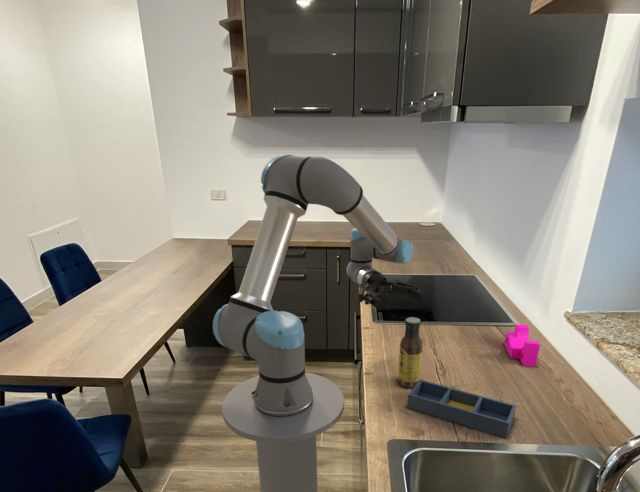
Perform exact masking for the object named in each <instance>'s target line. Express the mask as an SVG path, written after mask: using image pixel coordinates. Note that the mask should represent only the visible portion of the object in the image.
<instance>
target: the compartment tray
mask: <svg viewBox="0 0 640 492" xmlns="http://www.w3.org/2000/svg"><path fill="white" fill-rule="evenodd" d="M406 408H407V409H409V410H412V411H413V410H414V411H417V412H419V413H423V414H426V415H430V416H432V417H437V418H439V419H442V420H446V421H450V422H452V423H456V424H459V425H463V426H466V427H468V428H473V429H475V430H478V431H482V432H486V433H488V434H493V435H496V436H499V437H501V438H505V439H507V438H508V435H509V432H510V430H511V427H512V425H513V422H514V418H515V414H516V410H517V404H513V403H509V402H505V401H501V400H498V399H494V398H491V397H486V396H483V395H480V394H476V393H472V392H468V391H464V390H461V389H457V388H453V387H450V386H446V385H442V384H439V383H435V382H431V381H428V380H423V379H420V381H419V382H418V383H417V385H416V386H415V387H413V388H411V390H410V391H409V393H408V394H407V407H406Z"/></svg>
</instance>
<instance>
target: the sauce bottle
mask: <svg viewBox="0 0 640 492" xmlns="http://www.w3.org/2000/svg"><path fill="white" fill-rule="evenodd" d="M404 324H405V329H404V330H405V331H404V336H402V338H401V340H400V342H399V355H398V372H397V376H398V379H397V380H398V383H399V385H401V386H402V387H404V388H408V389H413V388H414V387H415V386H416V385H417V383H418V382H419V381H420V380H421V375H422V360H423V345H424V343H423V340H422V338H421V337H420V327H421V319H420V318H418V317H414V316H409V317H406V319H405V321H404Z"/></svg>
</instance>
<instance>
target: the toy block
mask: <svg viewBox="0 0 640 492" xmlns="http://www.w3.org/2000/svg"><path fill="white" fill-rule="evenodd" d="M503 344H504V347H505V349H506V351H507V353H508V356H509V357H510V359H518V360H519V361H520V362H521V363H520V364H521V365H522V366H523V367H536V366H537V361H538V358H539V357H538V356H539V351H540V347H541V343H540V342H539V341H538V340H537V341H536V340H530V327H529V325H528V324H515V326H514V331H513V332H510V331H507V332H505V339H504V343H503Z"/></svg>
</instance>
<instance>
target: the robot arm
mask: <svg viewBox="0 0 640 492" xmlns="http://www.w3.org/2000/svg"><path fill="white" fill-rule="evenodd" d="M260 183H261V184H262V185H261V189H262V191H263V194H264V195H263V201H264V203H265V205H266V208H265V211H264V214H263V217H262V220H261V223H260V226H259V229H258V231H257V236H256V239H255V242H254V244H253V247H252V250H251V254H250V256H249V260H248V263H247V265H246V269H245V272H244V275H243V278H242V281H241V284H240V287H239V290H238V292H237V293H235V294H233V295H231V296H230V298H229V301H228V303H227V304H224V305H222V306H221V308H219V309H218V310H217V311H216V313H214V314H215V315H214V317H213V320H212V332H213V335H214V337H215V340H216V341H217V342H218V343H219V344H220V345H221V346H223V347H225V348H226V349H228V350H229V351H232V352H236V353H238V354H241V355H243V356H246V357H248V358H249V359H250V358H251V359H253V360H255V361H257V365H258V376H259V380H258V384H257V387H256V390H255V391H253V392H252V395H254V394H255V395H254V403H255V407H256V408H257V410H258V411H260V412H261V413H263V414H266V415H269V416H274V417H287V416H293V415H296V414H299V413H301V412H303V411H305V410H307V409H308V408H309V407H310V406H311V404H312V402H313V392H312V389H311V387H310V385H309V382H308V379H307V377H306V374H305V372H306V352H305V348H306V347H305V346H306V345H305V340H306V338H305V336H306V335H305V332H304V325H303V322H302V320H301V319H300V318H299V316H297V315H296V314H293V313H291V312H289V311H284V310H280V311H278V310H274V309H273V307H272V304H271V301H272V297H273V295H274V291H275V288H276V285H277V283H278V279H279V277H280V274H281V270H282V267H283V264H284V261H285V258H286V255H287V252H288V249H289V245H290V243H291V239H292V237H293V234H294V231H295V227H296V224H297V222H298V219H299V218H301V217H303V216H305V215H306V213H307V209H308V207H309V205H318V206H322V207H326V208H328V209H330V210H332V211H333V213H335V214H336V215H338V216H343V217H344V218H345V219H346V220H347V221H348V222H349V223H350V224H351V226H353V228H352V229H351V231H350V241H349V242H350V260H349V263H348V264H347V266H346V274H347V276H348V278H349V279H350V280H351V281H352V282H353V283H355V284H356V285H358V303H363V302H364V305H366V306H367V305H372V307H374V308H375V309H377V310H378V311H380V310H382V300H381V299H380V298H379V297H377V296H379V295H382V294H390V295H394V294H399V295H404V296H410V298H411V299H412V300H414V301H416V302H417V303H418V304H420V305H424V297H425V295H424V294H423V293H421V292H420V291H421V289H420V288H421V286H419V285H415V284H411V283H407V282H403V281H400V280H398V279H395V280H394V282H393V281H388V278H387V277H386V276H385V275H384V274H383V273H381V272H380V271H378V270H377V269H375V268H374V267H373V259H374V260H378V261H379V260H380V261H383V262H390V263H393V264H403V265H406V264H408V263H409V262H410V261H411V259H412V257H413V253H414V246H413V243H412V242H411V241H410V240H407V239H405V238H403V239H401V238H399V236H398V235H397V234H396V232H394V230H393V229H392V227H390V225H388V223H387V222H386V220H384V219H383V217H382V216H381V215H380V213H379V212H378V211H377V210H376V209H375V207H374V206H373V205H372V204H371V203H370V201H369V200H368V199H367V198H366V197H365V196H364V189H363V187H362V186H361V184H360V183H359V182H358V181H357V180H356V179H355V177H353V175H351V173H349V171H347V170H346V169H345V168H343V167H342V166H341V165H339V164H338V163H336V162H335V161H333V160H331V159H329V158H326V157H324V156H318V155H317V156H315V155H314V156H307V155H292V154H284V155H278V156H275V157H272V158H271V159H270V160H269V161H268V162H267V163H266V164H265V165H264V167H263V170H262V171H261V176H260Z"/></svg>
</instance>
